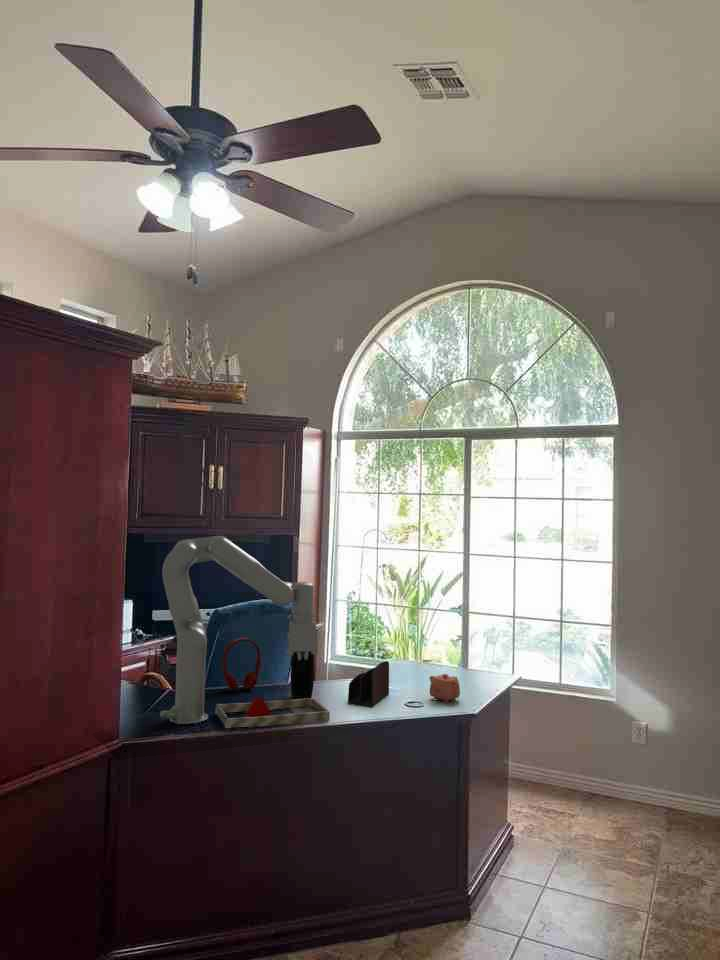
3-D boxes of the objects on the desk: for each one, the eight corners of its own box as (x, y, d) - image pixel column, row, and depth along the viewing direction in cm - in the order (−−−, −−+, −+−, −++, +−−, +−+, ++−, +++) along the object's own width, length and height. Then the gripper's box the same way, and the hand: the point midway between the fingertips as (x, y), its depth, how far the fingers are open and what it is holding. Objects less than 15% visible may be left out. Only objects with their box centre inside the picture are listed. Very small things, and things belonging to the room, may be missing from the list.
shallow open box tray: (225, 729, 241) (226, 718, 241) (215, 713, 257) (215, 703, 257) (329, 720, 254) (329, 709, 254) (313, 706, 270) (313, 696, 270)
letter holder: (389, 694, 290) (390, 658, 290) (372, 707, 271) (374, 669, 271) (365, 691, 293) (366, 656, 294) (347, 704, 275) (348, 666, 275)
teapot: (429, 703, 279) (430, 677, 279) (428, 695, 291) (429, 670, 291) (461, 705, 278) (461, 679, 278) (458, 696, 290) (459, 671, 290)
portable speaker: (287, 700, 277) (288, 647, 278) (294, 693, 286) (296, 642, 287) (309, 702, 275) (310, 649, 276) (316, 695, 284) (317, 644, 285)
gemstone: (249, 723, 243) (273, 706, 249) (233, 706, 248) (257, 690, 254) (250, 739, 249) (273, 722, 255) (234, 722, 254) (258, 706, 259)
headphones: (224, 694, 283) (226, 641, 283) (219, 689, 289) (221, 638, 289) (261, 690, 289) (263, 639, 290) (255, 686, 296) (257, 635, 296)
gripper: (284, 620, 253) (283, 675, 253) (326, 618, 258) (325, 671, 258) (278, 617, 260) (277, 670, 260) (319, 615, 265) (318, 666, 265)
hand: (301, 670), depth 259 cm, fingers closed
